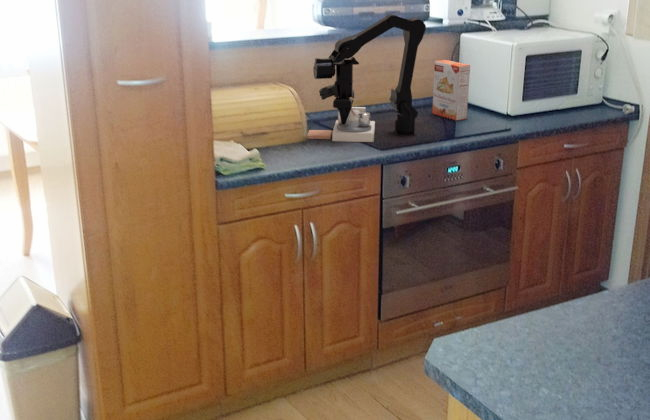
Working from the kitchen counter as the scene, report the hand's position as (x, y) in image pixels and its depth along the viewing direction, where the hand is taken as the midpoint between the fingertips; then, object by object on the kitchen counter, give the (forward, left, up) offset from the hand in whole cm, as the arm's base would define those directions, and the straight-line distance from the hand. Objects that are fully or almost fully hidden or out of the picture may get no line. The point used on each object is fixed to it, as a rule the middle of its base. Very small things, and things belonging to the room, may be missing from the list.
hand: (343, 122), depth 257 cm
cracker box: (-38, -33, -5) cm, 51 cm away
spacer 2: (-7, 0, -1) cm, 7 cm away
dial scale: (-3, -2, -5) cm, 6 cm away
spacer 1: (0, 0, 0) cm, 0 cm away
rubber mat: (+9, 0, -5) cm, 10 cm away
